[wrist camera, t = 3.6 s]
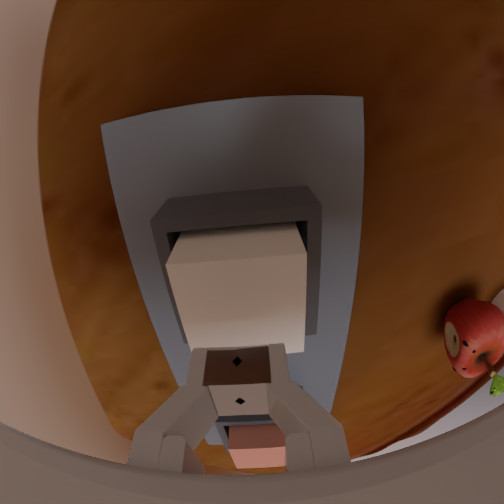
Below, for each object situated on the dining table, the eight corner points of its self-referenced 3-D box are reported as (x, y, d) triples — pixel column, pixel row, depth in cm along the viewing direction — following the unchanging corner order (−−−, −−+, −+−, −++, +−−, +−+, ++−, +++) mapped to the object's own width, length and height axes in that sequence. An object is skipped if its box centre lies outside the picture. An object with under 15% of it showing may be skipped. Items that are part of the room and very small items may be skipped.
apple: (416, 332, 23) (460, 415, 14) (457, 273, 20) (522, 350, 11) (457, 341, 25) (497, 407, 16) (492, 292, 22) (545, 354, 13)
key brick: (229, 417, 20) (228, 449, 18) (292, 413, 20) (296, 445, 17) (237, 441, 23) (236, 468, 20) (291, 437, 22) (294, 464, 20)
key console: (123, 121, 15) (69, 131, 9) (343, 98, 14) (390, 96, 9) (210, 423, 30) (206, 466, 24) (319, 416, 29) (327, 459, 24)
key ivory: (181, 230, 13) (165, 264, 10) (294, 220, 13) (306, 253, 10) (200, 317, 15) (193, 358, 12) (295, 310, 15) (303, 351, 12)
